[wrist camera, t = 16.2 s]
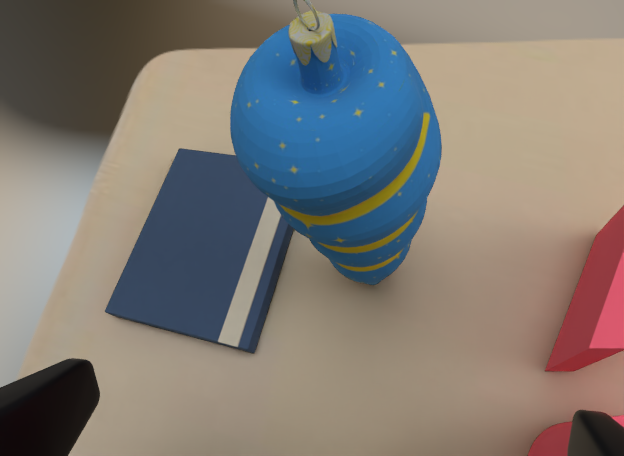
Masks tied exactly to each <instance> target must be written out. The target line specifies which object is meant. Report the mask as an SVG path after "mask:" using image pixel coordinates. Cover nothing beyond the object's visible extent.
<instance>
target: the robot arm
mask: <svg viewBox="0 0 624 456" xmlns="http://www.w3.org/2000/svg"><path fill="white" fill-rule="evenodd" d="M99 398H100V391H99V387H98V383H97V380H96V376H95V372H94V369H93V366H92V364H91V363H90V361H88V360H84V359H74V358H72V359H67V360H64V361H62V362H60V363H57V364H55V365H53V366H50V367H48V368H46V369H43V370H41V371H38V372H36V373H34V374H31V375H29V376H27V377H24V378H22V379H20V380H17V381H15V382H13V383H10V384H8V385H6V386H3V387H1V388H0V456H68V455H69V453H70V451H71V449H72V448H73V446H74V444H75V443H76V441H77V439H78V437H79V436H80V434H81V432H82V430H83V429H84V427H85V425H86V424H87V422H88V420H89V418H90V417H91V415H92V413H93V412H94V410H95V408H96V406H97V404H98V402H99ZM567 455H568V456H624V427H623V426H621V425H620V424H619V423H618V422H617V421H615V420H614V419H613V418H612V417H610V416H609V415H607V414H606V413H603V412H596V411H586V410H579V411H577V412H576V413H575V414H574V417H573V421H572V427H571V433H570V438H569V444H568V451H567Z"/></svg>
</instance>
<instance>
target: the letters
mask: <svg viewBox="0 0 624 456" xmlns="http://www.w3.org/2000/svg"><path fill="white" fill-rule="evenodd" d="M623 350H624V205H623V207H622V208H621V209H620V210H619V211H618V212H617V213H616V214H615V215H614V216H613V217H612V219H611V220H610V221H609V222H608V223H607V224H606V225H605V226H604V227H603V228H602V230H601V231H600V232H599V233H598V234H597V235H596V237H595V240H594V243H593V245H592V248H591V251H590V253H589V256H588V259H587V261H586V264H585V267H584V269H583V272H582V274H581V277H580V280H579V282H578V285H577V288H576V290H575V293H574V296H573V298H572V301H571V303H570V306H569V309H568V311H567V314H566V317H565V319H564V322H563V325H562V327H561V330H560V333H559V335H558V338H557V340H556V343H555V346H554V348H553V351H552V354H551V356H550V359H549V362H548V364H547V367H546V370H545V371H576V370H578V369H580V368H583V367H585V366H587V365H590V364H592V363H594V362H597V361H599V360H602V359H604V358H606V357H609V356H611V355H613V354H616V353H618V352H620V351H623ZM612 418H613V419H614V420H615V421H617V422H618V423H619V424H620V425H621V426H623V427H624V415H623V416H613V417H612ZM571 427H572V422H564V423H559V424H556V425H553V426H551V427H549V428H547V429H546V430H544V431H543V432H542V433H541V434H540V435H539V436H538V437H537V438H536V440H535V441H534V443H533V444H532V446H531V448H530V451H529V453H528V456H568V455H567V451H568V444H569V438H570V433H571Z"/></svg>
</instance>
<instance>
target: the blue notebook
mask: <svg viewBox="0 0 624 456" xmlns="http://www.w3.org/2000/svg"><path fill="white" fill-rule="evenodd" d="M293 229H294V228H293V227H291V226H290V225H289V224H288V223H287V222H286V221H285V219H284V218H283V216H282V215H281V214H280V212H279V211H278V209H277V208H276V205H275V203H274V201H273V200H272V199H270V198H269V197H268V196H266V195H265V194H264V193H262V192H261V191H260V190H259V189H258V188H257V187H256V186H255V185H254V184H253V183H252V182H251V180H250V179H249V178H248V176H247V175H246V173H245V172H244V171H243V169H242V168H241V166H240V164H239V162H238V160H237V157H236V156H235V155H227V154H219V153H211V152H203V151H196V150H188V149H179V150H178V152H177V154H176V157H175V159H174V161H173V163H172V165H171V168H170V170H169V172H168V174H167V176H166V179H165V181H164V183H163V185H162V187H161V189H160V192H159V194H158V196H157V198H156V200H155V203H154V205H153V207H152V209H151V211H150V214H149V216H148V218H147V220H146V222H145V224H144V227H143V229H142V231H141V233H140V235H139V238H138V240H137V242H136V244H135V246H134V248H133V251H132V253H131V255H130V257H129V259H128V262H127V264H126V266H125V268H124V270H123V273H122V275H121V277H120V279H119V281H118V283H117V286H116V288H115V290H114V292H113V294H112V297H111V299H110V301H109V303H108V305H107V308H106V310H105V312H106V313H109V314H111V315H113V316H116V317H119V318H123V319H127V320H130V321H134V322H138V323H142V324H145V325H149V326H153V327H157V328H160V329H164V330H168V331H172V332H175V333H179V334H183V335H187V336H190V337H194V338H198V339H201V340H205V341H209V342H213V343H216V344H220V345H224V346H228V347H231V348H235V349H239V350H243V351H246V352H250V353H255V350H256V347H257V343H258V340H259V337H260V334H261V331H262V328H263V324H264V321H265V318H266V315H267V312H268V308H269V305H270V302H271V299H272V296H273V293H274V289H275V286H276V283H277V280H278V277H279V273H280V270H281V267H282V264H283V261H284V258H285V254H286V251H287V248H288V245H289V242H290V238H291V235H292V232H293Z"/></svg>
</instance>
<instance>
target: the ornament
mask: <svg viewBox="0 0 624 456" xmlns="http://www.w3.org/2000/svg"><path fill="white" fill-rule="evenodd" d="M293 1H294V6H295V9H296V12H297V14H298V17H297V18H295V19H294V20H293V21H292V22H291V23H290V25H288V26H286V27H284V28H282V29H281V30H279V31H277V32H276V33H274V34H273V35H272V36H271V37H269V38H268V39H267V40H266V41H265V42H264V43H263V44H262V45H261V46H260V47H259V48H258V49H257V50H256V51H255V52H254V54H253V55H252V56H251V57H250V59H249V60H248V62H247V63H246V65H245V67H244V69H243V71H242V73H241V75H240V77H239V80H238V82H237V85H236V88H235V92H234V96H233V101H232V106H231V138H232V143H233V147H234V150H235V154H236V157H237V160H238V162H239V164H240V166H241V168H242V169H243V171H244V172H245V173H246V175H247V176H248V178H249V179H250V180H251V182H252V183H253V184H254V185H255V186H256V187H257V188H258V189H259V190H260V191H261V192H262V193H264V194H265V195H266V196H268V197H269V198H270V199H272V200H273V201H274V203H275V205H276V208H277V209H278V211H279V212H280V214H281V215H282V216H283V218H284V219H285V221H286V222H287V223H288V224H289V225H290V226H291V227H293V228H294V229H295V230H296V231H297V232H299V233H300V234H302V235H304V236H306V237H307V238H309V239H310V241H311V243H312V244H313V245H314V246H315V248H316V249H317V250H318V251H319V252H320V253H322V254H323V255H324V256H326V257H327V258H329V260H330V261H331V263H332V264H333V266H334V267H335V268H336V269H337V270H338V271H339V272H340V273H341V274H342V275H344V276H345V277H347V278H349V279H351V280H353V281H356V282H360V283H365V284H370V285H376V284H378V283H379V282H380V281H381V280H383V279H385V278H386V277H387V276H389V275H390V274H391V273H393V272H394V271H395V270H396V269H397V268H398V266H399V265H400V264H401V263H402V261H403V260H404V259H405V257H406V255H407V253H408V251H409V248H410V244H411V241H412V238H413V237H414V235H415V234H416V232H417V231H418V229H419V227H420V225H421V223H422V220H423V217H424V214H425V210H426V204H427V197H428V195H429V193H430V191H431V189H432V187H433V184H434V182H435V179H436V176H437V173H438V170H439V166H440V160H441V149H442V145H441V135H440V129H439V123H438V120H437V117H436V114H435V111H434V108H433V105H432V102H431V98H430V96H429V93H428V91H427V89H426V87H425V85H424V83H423V81H422V79H421V76H420V74H419V73H418V71H417V69H416V67H415V66H414V64H413V62H412V61H411V59H410V57H409V55H408V54H407V53H406V51H405V50H404V49H403V47H402V46H401V44H400V43H399V42H398V41H397V40H396V39H395V37H393V36H392V35H391V34H390V33H388V32H387V31H386V30H384V29H383V28H381V27H379V26H378V25H376V24H375V23H373V22H371V21H369V20H366V19H364V18H361V17H357V16H352V15H347V14H326V13H323V12H318V11H316V10H315V9H314V7H313V5H312V4H311V3H310V1H309V0H304V1H305V2H306V3H307V5H308V6H309V7H310V9H311V10H312V11H308V12H307V13H304V14H302V15H301V13H300V11H299V8H298V5H297V0H293Z"/></svg>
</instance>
